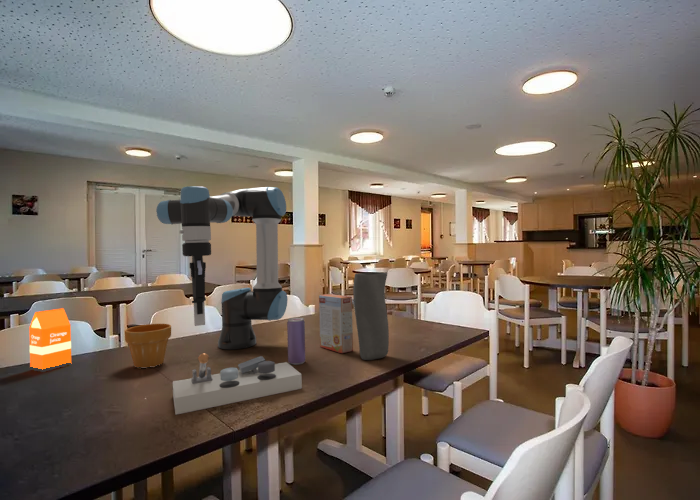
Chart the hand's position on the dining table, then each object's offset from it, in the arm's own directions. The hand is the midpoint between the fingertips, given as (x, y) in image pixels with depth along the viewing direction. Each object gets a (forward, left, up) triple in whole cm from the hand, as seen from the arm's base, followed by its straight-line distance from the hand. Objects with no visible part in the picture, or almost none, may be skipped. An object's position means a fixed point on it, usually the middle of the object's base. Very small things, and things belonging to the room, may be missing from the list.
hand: (199, 324), depth 105 cm
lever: (+5, 0, -13) cm, 14 cm away
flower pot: (-34, -13, -18) cm, 41 cm away
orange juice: (-49, -43, -18) cm, 68 cm away
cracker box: (-17, +51, -18) cm, 56 cm away
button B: (+12, +6, -12) cm, 19 cm away
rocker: (+5, +13, -13) cm, 19 cm away
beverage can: (-9, +32, -18) cm, 38 cm away
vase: (0, +57, -18) cm, 60 cm away
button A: (+12, +16, -12) cm, 23 cm away
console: (+8, +9, -18) cm, 22 cm away
